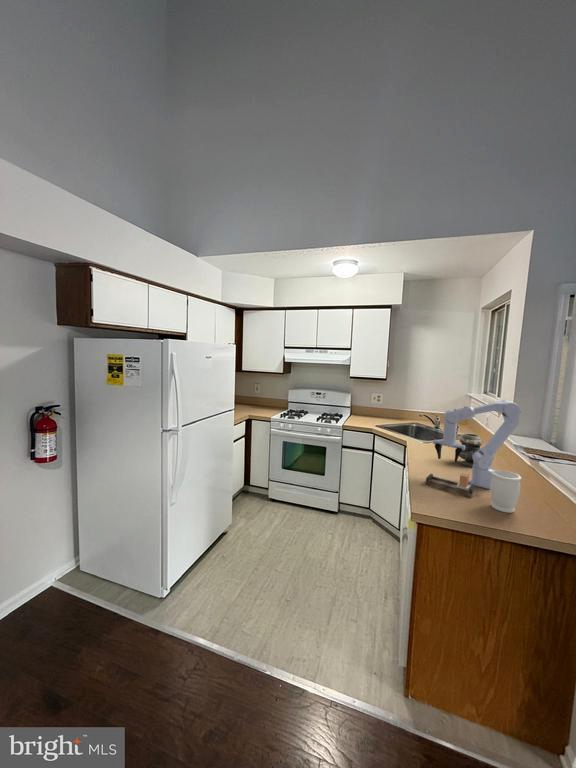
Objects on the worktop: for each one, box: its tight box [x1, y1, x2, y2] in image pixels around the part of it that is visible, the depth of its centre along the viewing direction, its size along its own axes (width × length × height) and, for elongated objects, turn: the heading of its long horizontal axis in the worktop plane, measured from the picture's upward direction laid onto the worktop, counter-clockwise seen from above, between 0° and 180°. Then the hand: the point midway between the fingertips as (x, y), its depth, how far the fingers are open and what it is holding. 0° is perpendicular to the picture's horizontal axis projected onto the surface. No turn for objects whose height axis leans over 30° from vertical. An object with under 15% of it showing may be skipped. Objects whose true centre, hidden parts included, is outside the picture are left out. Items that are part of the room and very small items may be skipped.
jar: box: [489, 469, 522, 514], centre depth 133 cm, size 11×10×15 cm
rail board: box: [424, 473, 476, 499], centre depth 152 cm, size 20×9×4 cm, turn 50°
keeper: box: [457, 472, 472, 491], centre depth 148 cm, size 5×5×6 cm
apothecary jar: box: [458, 432, 484, 468], centre depth 186 cm, size 12×12×18 cm
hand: (447, 460), depth 162 cm, fingers open, 7 cm apart
